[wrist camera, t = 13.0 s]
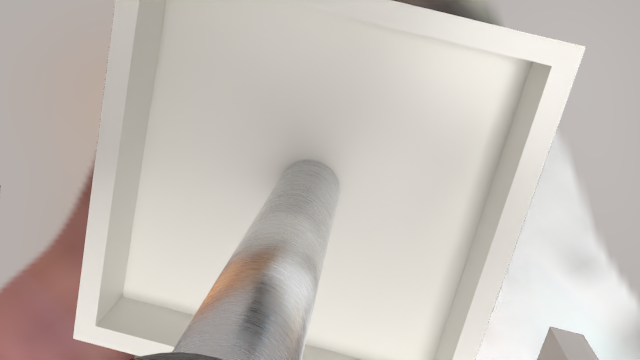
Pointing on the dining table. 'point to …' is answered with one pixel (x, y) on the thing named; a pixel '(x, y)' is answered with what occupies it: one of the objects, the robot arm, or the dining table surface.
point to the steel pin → (268, 276)
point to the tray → (324, 146)
